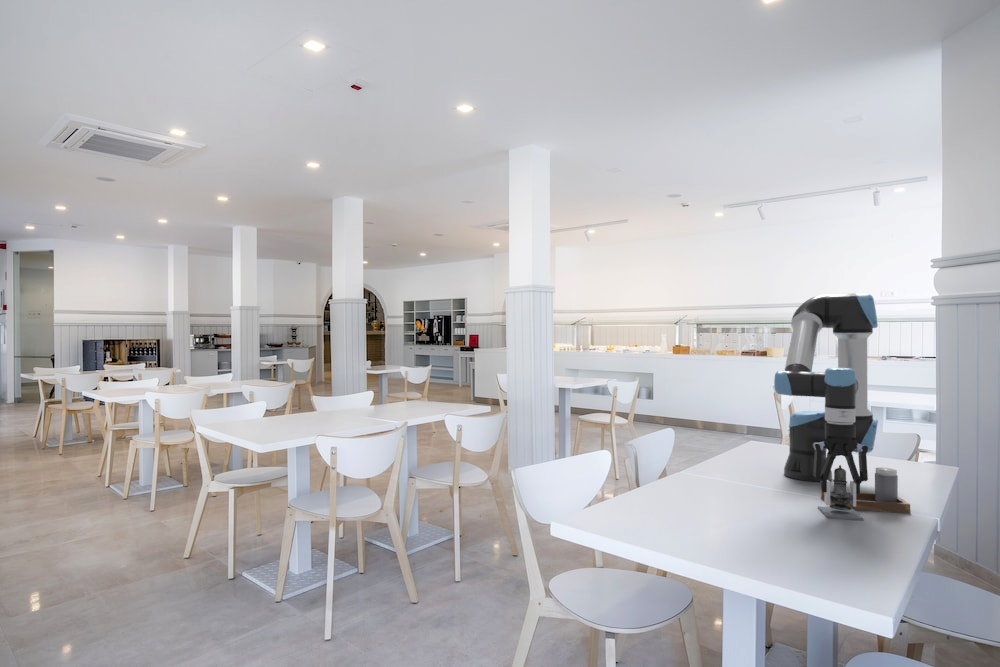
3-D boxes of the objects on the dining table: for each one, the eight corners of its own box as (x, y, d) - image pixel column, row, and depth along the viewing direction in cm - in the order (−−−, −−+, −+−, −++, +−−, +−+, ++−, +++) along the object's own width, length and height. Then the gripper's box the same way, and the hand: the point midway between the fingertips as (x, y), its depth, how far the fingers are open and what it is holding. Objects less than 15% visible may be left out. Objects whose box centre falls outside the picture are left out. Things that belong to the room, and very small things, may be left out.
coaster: (817, 508, 168) (817, 506, 168) (852, 510, 166) (852, 508, 166) (827, 517, 160) (827, 515, 160) (863, 520, 157) (863, 518, 157)
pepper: (871, 503, 173) (871, 466, 173) (892, 504, 172) (892, 467, 172) (879, 508, 168) (879, 471, 168) (901, 510, 166) (901, 472, 166)
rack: (820, 498, 179) (820, 490, 179) (894, 502, 174) (894, 494, 174) (831, 508, 169) (831, 499, 169) (910, 513, 164) (910, 504, 164)
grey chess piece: (855, 511, 159) (855, 467, 159) (832, 509, 161) (832, 466, 161) (847, 504, 165) (847, 463, 165) (825, 503, 166) (825, 462, 166)
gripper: (807, 423, 162) (807, 505, 162) (883, 425, 157) (883, 510, 157) (800, 419, 169) (800, 498, 169) (872, 421, 164) (872, 502, 164)
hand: (840, 504), depth 163 cm, fingers closed on grey chess piece, 6 cm apart
